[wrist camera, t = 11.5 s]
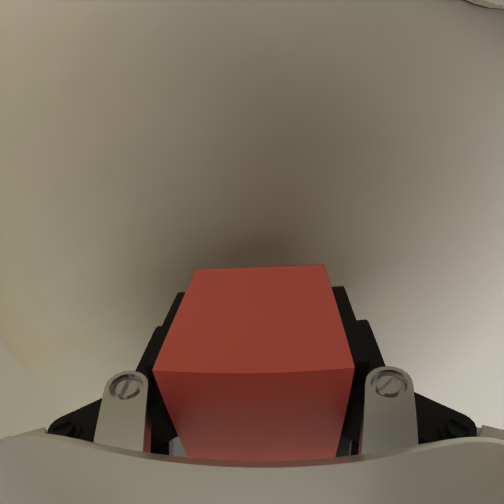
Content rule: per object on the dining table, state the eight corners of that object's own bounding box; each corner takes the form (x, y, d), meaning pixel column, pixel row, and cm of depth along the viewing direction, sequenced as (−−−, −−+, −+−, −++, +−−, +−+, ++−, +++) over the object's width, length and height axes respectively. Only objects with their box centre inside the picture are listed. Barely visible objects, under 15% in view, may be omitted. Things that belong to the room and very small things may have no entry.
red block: (324, 263, 11) (354, 367, 6) (319, 360, 13) (333, 463, 8) (196, 268, 11) (152, 369, 7) (212, 362, 13) (191, 463, 8)
